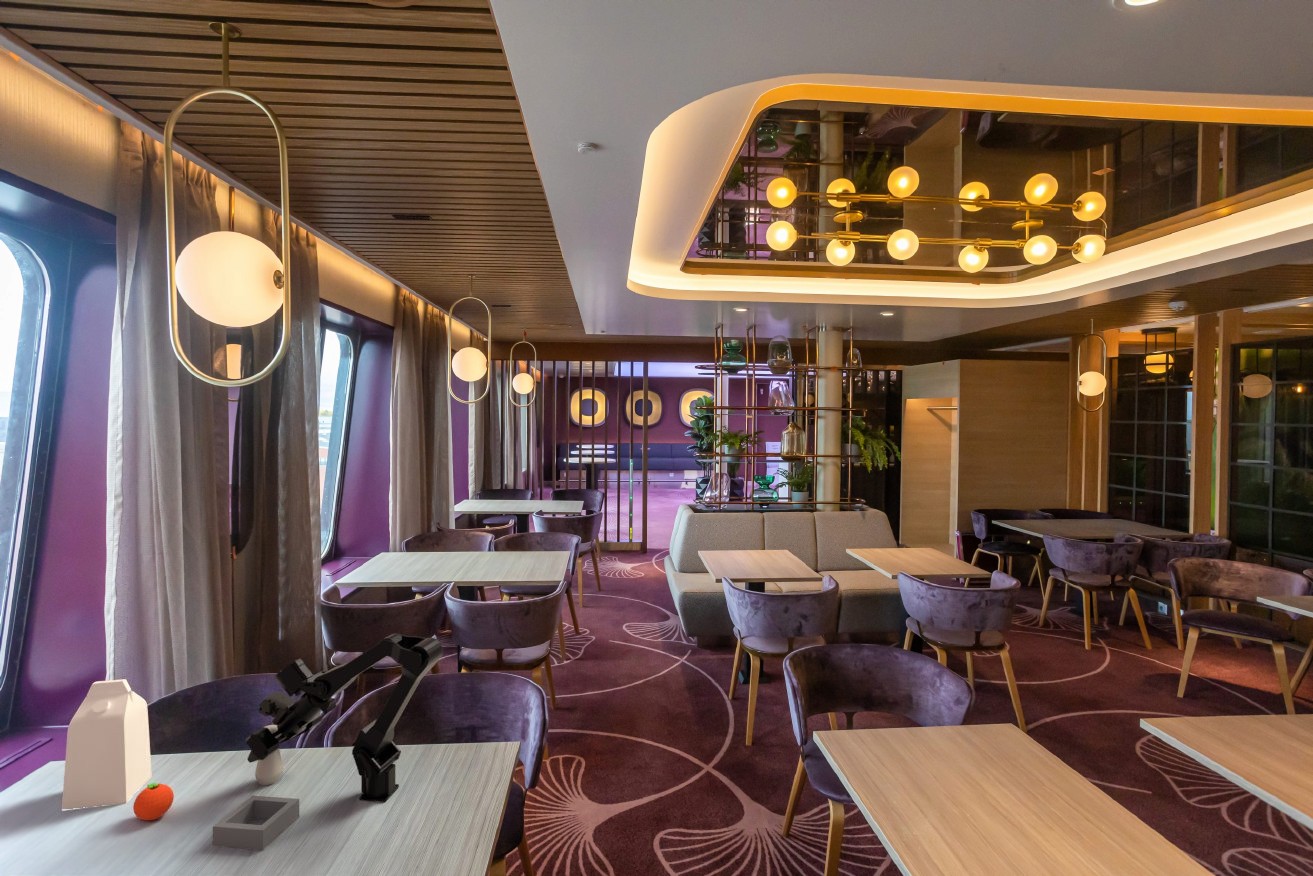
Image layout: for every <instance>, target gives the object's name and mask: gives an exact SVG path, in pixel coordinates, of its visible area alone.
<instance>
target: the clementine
mask: <svg viewBox="0 0 1313 876" xmlns="http://www.w3.org/2000/svg"><path fill="white" fill-rule="evenodd" d="M174 797H175V795H174V791H173V789H172V787H170V786H169V785H168V784H165V783H157V782H152V783H149V784H147V787H145V788H144V789H142V790H141V791H140V792H139V794H138V795H136V798H135V799H134V802H133V806H132V808H133V813H134V816H136V818H138V819H139V820H142V821H153V820H156V819H158V818H160V817H162V816H163V815H164V814H167V812H168V810H170V808H171V807H172V805H173V803H174Z"/></svg>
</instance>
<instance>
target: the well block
mask: <svg viewBox="0 0 1313 876" xmlns="http://www.w3.org/2000/svg"><path fill="white" fill-rule="evenodd" d="M299 818H300V798H293V797H292V798H291V797H278V796H264V795H251V796H250V797H248V798H247V799H246V800H245V801H244V802H242V803H241V804H240V805H238V806H237V807H236V808H235V809H233V810H232V811H231V812H229V813H228V814H227V815H225V816H224V817H223V818H222V819H220V820H219V821H218V822H217V823H215V824H213V826H212V847H219V848H221V847H222V848H232V849H233V848H234V849H246V850H256V851H259V850H260V851H264V850H265V849H266V848H268V846H270V844H272V843H273V842H274V841H275V840H276V839H277V838H278V837H279V836H280V835H281V834H282V833H284V832H285V831H286V830H287V829H288V828H289V827H290V826H291V825H292V824H293V823H295V821H297V820H298V819H299ZM253 819H259V820H260V819H261V820H265V822H264V823H262V825H261V824H253V823H252V824H250V822H251V821H252V820H253Z"/></svg>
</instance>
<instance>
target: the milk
mask: <svg viewBox="0 0 1313 876" xmlns="http://www.w3.org/2000/svg"><path fill="white" fill-rule="evenodd" d="M148 712H149V711H148V704H147V701H146V700H145V699H144V698H143V697H142V696H141V695H139V694H137V692H135V691H134V690H132V688H131V686H130V685H129V683H128V681H127V679H126V678H124V679H111V680H99V681H95V682H93V683H92V684H91V686H90V687H89V689H88V692H87V694H86V696H85V698H84V699H83V700H82V702H81V704H80V705H79V707H78V709H77V711H76V712H75V713H74V715H73V717H72V718H71V720H70V722H69V725H68V726H67V732H66V733H67V734H66V735H67V736H66V748H65V760H64V761H65V762H64V775H63V776H64V777H63V788H62V789H63V790H62V799H61V800H62V801H61V810H62V809H73V808H83V807H85V809H87V808H86V807H93V808H95V807H94V806H101V807H103V806H102V805H109V806H115V805H116V806H117V805H123V804H127V803H129V801H130V800H131V799H132V798H133V797H134V796H135V795H136V794H137V793H138V792H139V790H140V789H142V787H143V786H144V785H145V784H146V783H147V782H148V781H149V780H150V779H151V778H152V774H153V773H152V760H151V746H150V742H151V741H150V728H149V726H150V725H149V713H148ZM137 791H138V792H137ZM136 792H137V793H136ZM135 793H136V794H135ZM134 794H135V795H134ZM133 795H134V796H133Z"/></svg>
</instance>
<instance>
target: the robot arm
mask: <svg viewBox="0 0 1313 876" xmlns="http://www.w3.org/2000/svg"><path fill="white" fill-rule="evenodd" d="M442 646H443V645H442V643H441V642H440V641H439V639H436V638H435V637H423V636H417V635H416V636H415V635H414V636H413V635H405V634H402V633H396V632H395V633H392V634H389V635H388V636H386V637H384V638H382V639H381V640H380V641H379V642H378V643H377V644H375V645H374V646H372V647H370V648H369V649H368V650H365V651H364V652H363V653H361V654H360V655H358V656H357V657H355V658H353V659H352V660H350V661H349V662H345V663H342V664H339V665H337V666H335V667H333V668H331V669H329V670H320V671H319V672H317V673H316V674H313V673H312V671H311V670H310V669H309V667H307V666H306V664H305V663H304V661H303V660H302V659H301V658H297V659H295V660H294V661H293V662H292V663H289V665H287V666H286V667H285V668H283V669H282V670H280V671H278V673H276V675H275V676H274V679H275V680H276V681H277V683H278V684H279V685H280V687H282V688H283V690H284V691H285V693H284V692H282V691H278V690H277V691H275V692H273V693H271V694H269V695H268V696H266V697H265V698H264V699H263V700H262V702H260V703H259V704H258V707H259V708H257V709H258V713H259V714H261V715H262V716H264V717H268V716H270V717H272V718H273V719H272V721H271V722H272V723H273V725H277V729H278V731H276V732H274V733H273V734H272V733H271V732H270V730H269V729H268V728H265V726H263V727H261V728H259V729H257V730H255V731H254V732H252V733H251V734H250V735H248V737H246V739H245V744H246V745H247V746H248V747H249V748H250V751H249V753H248V754H249V755H248V757H247V761H248V763H250V764H251V763H254V762H258V760H264V759H266V758H267V757H269V756H270V755H272V754H273V753H274V752H275V751H276V750H277V749H278V748H279V749H280V744H283V743H285V742H288V741H289V740H292V739H294V738H297V737H298V736H301V735H303V734H305V733H307V732H308V731H310V730H312V729H313V728H314V727H317V726H318V724H320V722H322V720H323V717H322V716H323V715H322V713H323V714H324V715H327V714H329V713H330V712H332V711H333V710H335V709H337V703H336V698H334V696H336V695H337V694H339V693H340V692H342V691H344V690H346V689H347V688H348V687H349V686H350V685H351V684H352V683H353V682H354V681H356V679H357V678H358V676H359V675H361V674H362V673H363V672H365V671H367V670H369V669H370V668H371V667H373V666H374V665H376V664H378V663H380V662H381V661H382V660H383V659H385V658H387V657H389V658H391V659H392V660H393V661H395V662H396V663H397V664H400V665H401V676H400V677H399V679H398V681H397V683H396V684H395V686H394V688H393V690H392V692H391V694H390V695H389V697H388V699H387V700H386V702H385V704H384V706H383V707H382V710H381V711H380V713H379V715H378V716H377V719H376V718H375V719H374V720H373V721H371V722H370V723H369V724H367V725H365V726H364V727H363V728H362V729H361V730H360V731H359V733H358V734H357V738H356V739H355V741H354V742H353V743H352V744H351V746H353V748H352V751H351V755H352V758H353V760H354V763H355V766H356V768H357V772H358V775H359V776H360V777H361V783H360V785H361V787H360V788H361V789H360V792H361V795H359V797H358V800H359V801H365V802H366V801H367V802H383V803H384V802H387V801H388V799H389V798H390V797H391V796H392V795H393V794H394V793H395V792H396V791H397V790H398V789H399V787H400V785H399V784H398V783H396V763H395V762H396V761H398V760H399V758H400V756H401V754H402V751H401V749H400V748H399V747H398V746H397V745H396V743H395V742H394V741H393V740H394V737H395V726H396V725H397V724H398V722H399V720H400V718H401V716H402V714H403V712H404V711H405V709H406V707H407V705H408V703H409V701H410V699H411V698H412V697H413V695H414V693H415V691H416V689H417V688H418V686H419V684H420V682H421V680H422V679H423V678H424V677H425V675H427V674H428V672H430V671H431V669H432V668H433V667H434V666H435V665H436V663H438V661H439V660H441V658H442V656H443V653H444V649H443V647H442ZM301 694H302V695H301ZM294 695H295V696H296V697H299V696H300V695H301V696H300V697H299V698H298V699H297V700H296V701H295V700H294V699H293V698H292V697H293V696H294ZM321 712H322V713H321Z"/></svg>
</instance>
